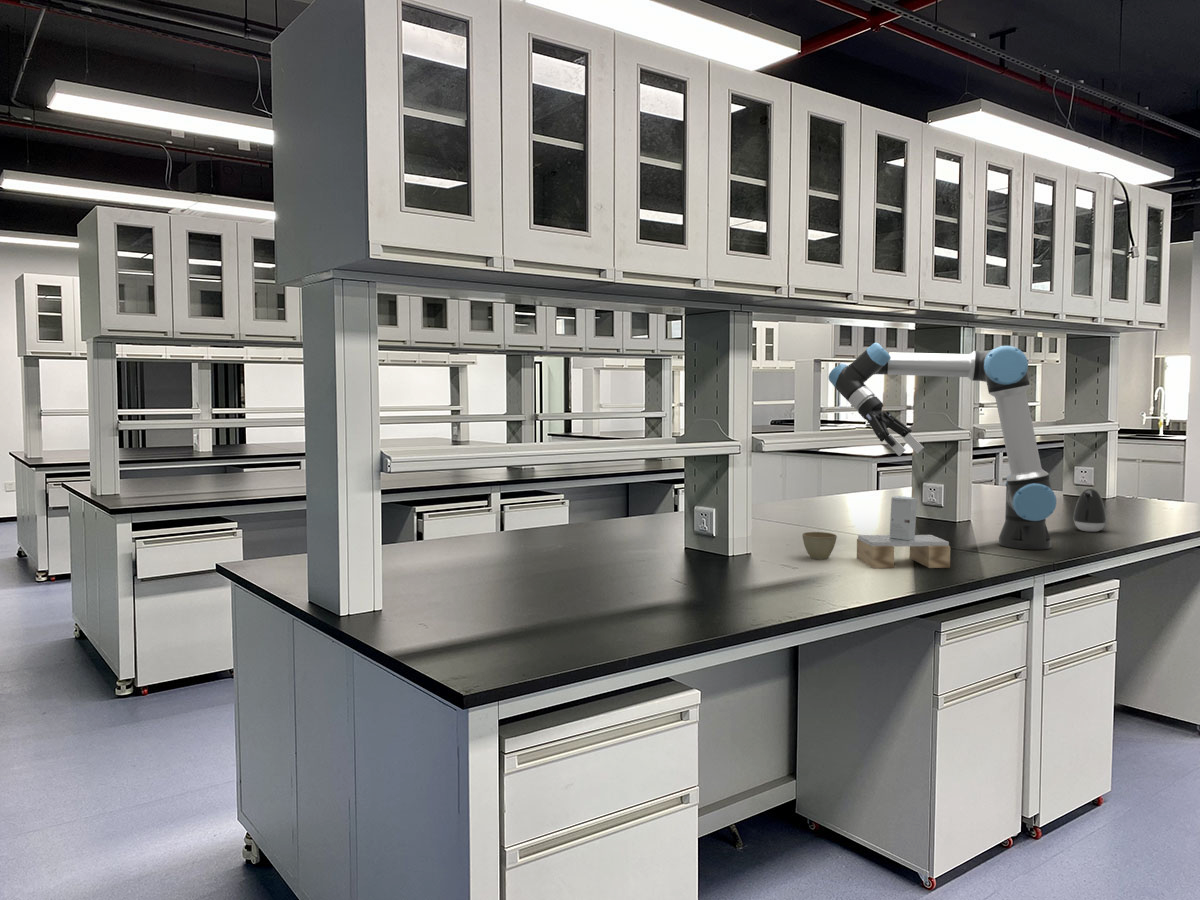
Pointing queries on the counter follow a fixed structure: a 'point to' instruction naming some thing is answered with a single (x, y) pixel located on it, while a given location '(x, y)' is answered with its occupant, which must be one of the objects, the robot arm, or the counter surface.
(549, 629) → the counter surface
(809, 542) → the flower pot
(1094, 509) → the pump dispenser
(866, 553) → the oak blocks
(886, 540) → the bridge plate
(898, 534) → the skincare box
